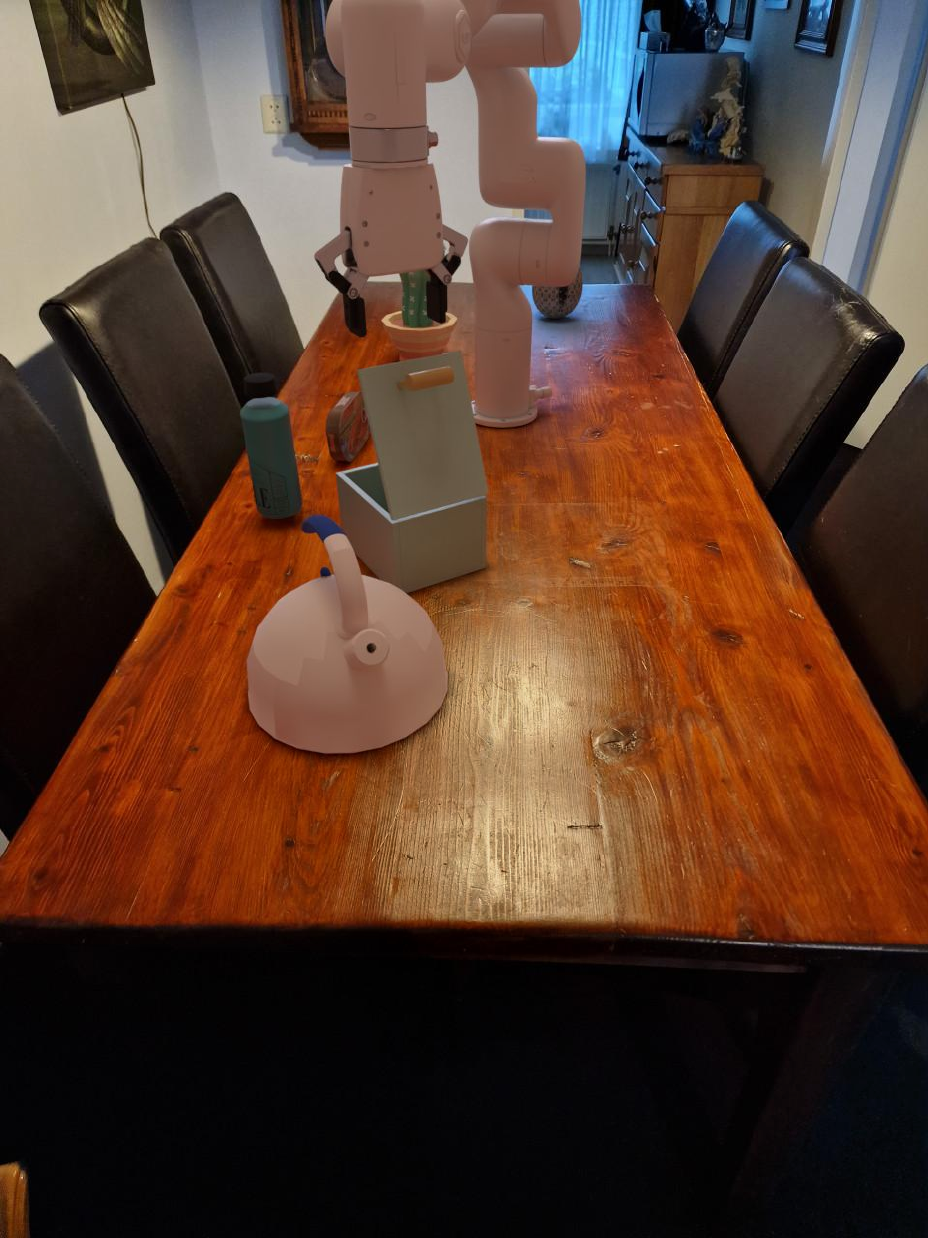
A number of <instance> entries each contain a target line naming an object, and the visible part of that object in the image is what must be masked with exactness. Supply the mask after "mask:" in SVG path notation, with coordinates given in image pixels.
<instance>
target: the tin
mask: <svg viewBox="0 0 928 1238" xmlns="http://www.w3.org/2000/svg"><path fill="white" fill-rule="evenodd" d="M370 434H371V431H370V426H369V422H368V417H367V413H366V409H365V404H364V400H363V396H362V391H361V390H359V391H347V392H345V393H344V394H343V395H342V397H341V398H339V400H338V401H337V402H336V403H335V404H334V406H333V407H332V408H330V410H329V412H328V414H327V417H326V421H325V436H326V442H327V447H328V453H329V456H330V458H331V459H332V460H333V461H335V462H348V463H351V462H353V461H354V460H355V458H356V457H357V456H358V454H359V453H360V452H361V450H362V449H363V447H364V446H365V444H366V443H367V442H368V440H369V438H370Z"/></svg>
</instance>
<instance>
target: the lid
mask: <svg viewBox="0 0 928 1238" xmlns="http://www.w3.org/2000/svg"><path fill="white" fill-rule="evenodd" d="M356 373H357V377H358V383H359V387H360V391H362V396H363V400H364V404H365V409H366V413H367V417H368V422H369V426H370V434H371V439H372V444H373V448H374V453H375V457H376V461H377V463H378V466H379V470H380V474H381V479H382V483H383V488H384V492H385V496H386V501H387V505H388V509H389V514H390V518H391V520H397V519H401V518H404V517H408V516H411V515H415V514H419V513H422V512H426V511H429V510H433V509H436V508H440V507H443V506H447V505H451V504H454V503H458V502H461V501H465V500H468V499H472V498H476V497H479V496H483V495H485V496H486V495H489V488H488V483H487V477H486V472H485V467H484V461H483V457H482V452H481V446H480V440H479V435H478V430H477V425H476V423H475V420H474V414H473V409H472V404H471V402H472V399H471V394H470V389H469V384H468V379H467V374H466V368H465V362H464V358H463V353H462V350H460V349H459V350H455V351H454V350H453V351H448V352H444V353H443V352H442V353H441V354H438V355H433V356H427V357H422V358H417V359H412V360H406V361H397V362H391V363H386V364H380V365H376V366H375V365H374V366H369V367H365V368H360V369H357V370H356Z"/></svg>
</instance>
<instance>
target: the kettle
mask: <svg viewBox="0 0 928 1238" xmlns="http://www.w3.org/2000/svg"><path fill="white" fill-rule="evenodd" d="M300 530H301V532H303V533H305V534H315V533H316V534H317V536H318V538H319V539H320V541H321V542H322V543H323V544H324V547H325V549H326V553H327V555H328V558H329V562H330V564H331V568H332V571H333V574H332V573H331V570H330V569H329V568H328V567H327V566H322V567H321V568H320V570H319V576H320V577H316V578H314V579H311V580H309V581H308V582H304V584H301V585H300V586H298V587H296V588H294V589H292V590H290V591H289V592H288V593H286V594H285V595H284V596H282V597H281V598H280V599H279V600H277V602H276V603H275V604H274V605H273V607H272V608H271V609H270V610H269V611H268V612H267V614H266V615H265V616H264V618H263V619H262V620H261V622H260V623H259V624H258V626H257V628H256V630H255V634H254V636H253V640H252V642H251V646H250V649H249V652H248V655H247V658H246V671H247V682H248V683H247V685H248V686H247V687H248V692H247V697H248V707H249V711H250V712H251V714H252V716H253V717H254V719H255V721H256V723H257V725H258V726H259V727H260V728H261V729H263V730H264V731H265V732H266V733H267V734H269V735H270V736H271V737H272V738H273V739H275V740H276V741H277V740H278V741H280V742H282V743H284V744H286V745H289V746H291V747H293V748H295V749H299V750H305V751H310V752H316V753H321V754H356V753H361V752H366V751H371V750H375V749H380V748H383V747H385V746H388V745H390V744H393V743H396V742H398V741H400V740H403V739H405V738H407V737H408V736H411V734H413V733H414V732H416V731H417V730H419V729H421V727H423V726H424V725H426V724H427V723H429V721H430V720H431V719H432V718H433V717H434V715H435V714H436V713H437V712H438V711H439V710H440V709H441V707H442V705H443V703H444V699H445V697H446V695H447V693H448V688H449V687H448V681H449V679H448V675H449V673H448V671H447V667H446V660H445V652H444V645H443V641H442V639H441V637H440V634H439V632H438V630H437V628H436V626H435V624H434V623H433V621H432V619H431V618H430V616H429V614H428V612H427V611H426V610H425V609H424V608H423V607H422V606H421V604H419V603H418V602H417V601H416V600H415V599H414V598H412V597H411V596H410V595H409V594H408V593H405V592H404V591H402V590H401V589H399V588H397V587H395V586H394V585H392V584H390V583H387V582H384V581H381V580H380V579H379V578H375V577H372V576H368V575H365V574H362V572H361V568H360V564H359V562H358V559H357V555H356V554H355V553H354V550H353V548H352V546H351V544H350V542H349V540H348V539H347V537H346V534H345V533H344V532H343V530H342V529H341V525H338V524H337V523H336V522H335V521H334V520H333V519H332V518H330V517H329V516H327V515H324V514H313V515H310V516H308V517H306V518H305V520H303V522H302V524H301V527H300Z"/></svg>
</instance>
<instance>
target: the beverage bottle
mask: <svg viewBox="0 0 928 1238" xmlns="http://www.w3.org/2000/svg"><path fill="white" fill-rule="evenodd" d="M243 387H244V388H243V391H244V392H243V393H244V396H245V397H247V398H250V400H248V401H247V402H246V403H245V404H244V406H243V407H242V408H241V410H240V412H239V418H240V420H241V425H242V430H243V438H244V441H245V442H244V447H245V448H244V449H245V451H246V455H247V456H246V457H247V460H248V461H247V462H248V467H249V473H250V479H251V487H252V489H251V491H252V492H253V494H252V496H253V501H254V508H255V509H256V511H257V512H258V514H259V515H260V516H261V517H263V518H266V519H271V520H279V519H286V518H290V517H293V516H295V515H297V514H298V513H299V512H301V511H302V507H303V494H302V492H303V491H302V485H301V481H300V480H301V479H300V474H299V473H300V472H299V469H298V462H297V455H296V450H295V445H294V436H293V429H292V423H291V416H290V413H291V412H290V408H289V406H288V405H287V404H286V403H284V402H283V401H282V400H280V399H279V398H276V397H274V396H276V395H277V394H278V393H279V388H278V384H277V379H276V376H275V375H274V374H272V373H268V372H255V373H251V374H248V375H246V376H245V377H244V378H243Z"/></svg>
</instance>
